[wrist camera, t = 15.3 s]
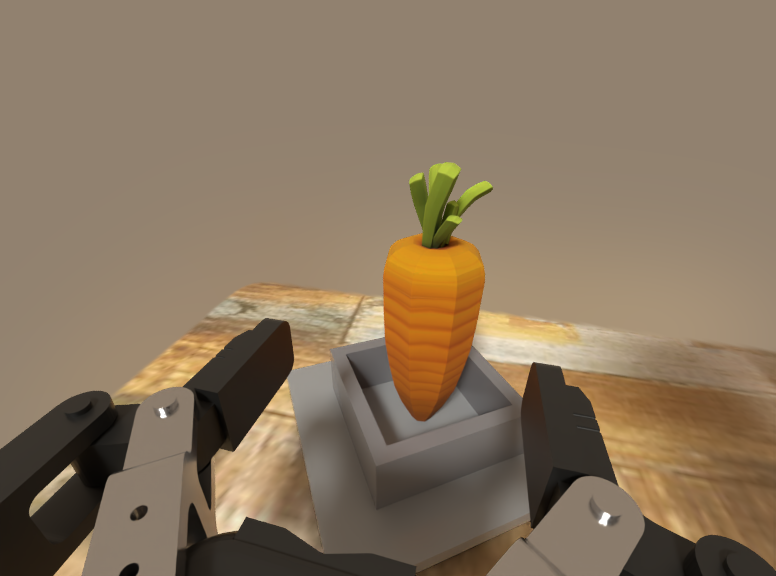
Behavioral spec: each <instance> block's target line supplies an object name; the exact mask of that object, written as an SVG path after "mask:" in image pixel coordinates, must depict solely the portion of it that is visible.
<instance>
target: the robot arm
mask: <svg viewBox="0 0 776 576" xmlns="http://www.w3.org/2000/svg"><path fill="white" fill-rule="evenodd" d="M293 363H294V354H293V346H292V339H291V331H290V325H289V323H288V322H287V321H281V320H275V319H269V318H265V319H263V320H262V321H261V322H260V323H259V324H258V325H257V326H256V327H255V328H254V329H253V330H248V331H246V332H244V333H242V334H240V335H238V336H237V337H235V338H234V339H233V340H231V341H230V342H229V343H228V344H227V345H226V346H225V347H224V350H223V349H222V350H221V351H220V352H219V353H218V354H217V355H216V357H215V358H213V359H211V360H210V361H209V362H208V363H207V364H206V365H205V366H204V367H203V368H202V369H201V370H200V371H199V372H198V373H197V374H196V375H195V376H194V377H192V378H191V379H190V380H189V381H188V382H187V383H186V384H185V385H184V386H183V387H172V388H167V389H164V390H161V391H159V392H157V393H154V394H153V395H151V396H149V397H148V398H147V399H145V400H144V401H143V402H142V403H141V404H129V405H114V403H113V401H112V399H111V397H110V395H109V394H108V393H106V392H103V391H90V392H86V393H82V394H79V395H76V396H74V397H71V398H69V399H67V400H66V401H64V402H62V403H61V404H60V405H58V406H56V407H55V408H54V409H53V410H51V411H50V412H49V413H47V414H46V415H45V416H43V417H42V418H41V419H40V420H38V421H37V422H36V423H34V424H33V425H32V426H30V427H29V428H28V429H26V430H25V431H24V432H22V433H21V434H20V435H18V436H17V437H16V438H15V439H13V440H12V441H11V442H9V443H8V444H7V445H6V446H4V447H3V448H1V449H0V576H53V575H54V574H55V573H56V572H57V571H58V570H59V568H60V567H61V566H62V565H63V564H64V562H65V561H66V560H67V559H68V558H69V557H70V555H71V554H72V553H73V552H74V551H75V550H76V548H77V547H78V546H79V545H80V544H81V543H82V541H83V540H84V539H85V538H86V537H87V536H88V534H89V533H90V532H91V531H92V530H93V529H94V531H93V534H92V538H91V542H90V546H89V550H88V553H87V557H86V561H85V565H84V569H83V572H82V576H416V568H417V566H414V565H410V564H407V563H404V562H400V561H397V560H393V559H390V558H386V557H383V556H379V555H376V554H372V553H347V554H325V553H321V552H319V551H317V550H316V549H315V548H313V547H312V546H310V545H309V544H307V543H306V542H304V541H303V540H301V539H300V538H299V537H297V536H296V535H294V534H293V533H291V532H290V531H288V530H287V529H285V528H283V527H279V526H276V525H272V524H269V523H265V522H262V521H258V520H255V519H252V518H248V517H246V518H245V520H244V522H243V524H242V525H241V527H240V529H239V530H238V531H233V532H227V533H222V534H218V532H217V526H216V515H215V461H214V457H213V456H214V455H215V454H216V452H217V451H218V450H219V448H220V449H224V450H228V451H232V452H234V451H235V450H236V448H237V447H238V445H239V444H240V443H241V441H242V440H243V438H244V437H245V436H246V434H247V433H248V431H249V430H250V429H251V427H252V426H253V425H254V423H255V422H256V420H257V419H258V418H259V416H260V415H261V413H262V412H263V411H264V409H265V408H266V406H267V405H268V404H269V402H270V401H271V399H272V398H273V397H274V395H275V394H276V392H277V391H278V390H279V388H280V387H281V386H282V384H283V383H284V381H285V380H286V379H287V377H288V376H289V374H290V372H291V370H292V367H293ZM595 418H596V417H595V414H594V411H593V408H592V405H591V402H590V400H589V399H588V398H587V397H586V396H585V395H584V393H583V392H582V391H581V390H580V389H579V387H574V386H569V385H566V384H565V380H564V376H563V373H562V369H561V367H560V366H554V365H548V364H542V363H536V362H533V363H532V366H531V369H530V373H529V376H528V380H527V384H526V388H525V392H524V395H523V399H522V405H521V428H522V439H523V449H524V459H525V470H526V480H527V490H528V501H529V511H530V522H531V528H533V529H534V530H533V531H532V532H531V534H530V535H529V536H528V537H527V538H525V539H524V538H523V537H521V538H519V539H518V540H517V541H516V542H515V543H514V544H513V545H512V546H511V547H510V548H509V549H508V550H507V552H506V553H505V554H504V555H503V556H502V557H501V559H500V560H499V561H498V562H497V563H496V564H495V566H494V567H493V568H492V569H491V570H490V571H489V573H488V574H487V575H486V576H776V571H775V570H774V569H773V567H772V566H770V565H769V564H768V563H767V562H766V561H765V560H764V559H763V558H761V557H760V556H759V555H758V554H756V553H755V552H753V551H752V550H750V549H749V548H747V547H746V546H744V545H742V544H740V543H738V542H736V541H734V540H732V539H729V538H726V537H722V536H718V535H708V536H704V537H702V538H700V539H699V540H698V541H697V543H696V544H695V543H693V542H691V541H689V540H687V539H685V538H683V537H681V536H679V535H677V534H675V533H673V532H671V531H669V530H667V529H665V528H663V527H661V526H659V525H658V524H656V523H654V522H652V521H651V520H649V519H648V518H646V517H645V516H644V515H642V512H641V510H640V508H639V507H638V505H637V504H636V502H635V501H634V500H633V499H632V498H631V496H630V495H628V494H627V493H626V492H625V491H624V490H623V489H621V488H620V487H619V486H618V483H617V480H616V477H615V474H614V471H613V468H612V465H611V462H610V459H609V456H608V453H607V450H606V447H605V444H604V441H603V438H602V435H601V433H600V429H599V426H598V423H597V420H595ZM70 463H71V465H72V467H73V468H74V470H75V472H76V473H75V474H74V475H73V476H72V477H71V478H70V479H69V480H68V481H67V482H66V483H65V484H64V485H63V486H62V487H61V488H60V489H59V490H58V491H57V492H56V493H55V494H54V495H53V496H52V497H51V498H50V499H49V500H48V501H47V502H46V503H45V504H44V505H43V506H42V507H41V508H40V509H39V510H38V511H36V512H35V513H34V514H33V515H32V516H31V517H30V516H29V508H30V505H31V503H32V501H33V500H34V498H35V497H36V496H37V494H38V493H39V492H40V491H42V490H43V489H44V488H45V487H46V486H47V485H48V484H49V483H50V482H51V481H52V480H53V479H54V478H55V477H56V476H58V475H59V474H60V473H61V472H62V471H63V470H64V469H65V468H66V467H67V466H68V465H69V464H70Z"/></svg>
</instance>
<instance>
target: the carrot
mask: <svg viewBox="0 0 776 576" xmlns="http://www.w3.org/2000/svg"><path fill="white" fill-rule="evenodd" d="M460 171H461V168H459V167H458V166H457V165H456V164H454V163H447V162H445V163H444V164H436V165H433V166H432V167H431V168H430V170H429V196H428V193H427V187H426V182H425V177H424V173H418V174H416V175H415V176H413V177H412V178H411V179H410V182H409V184H410V190H411V195H412V199H413V203H414V206H415V209H416V212H417V215H418V218H419V220H420V223H421V226H422V230H423V233H421V234H418V235H414V236H410V237H406V238H403V239H400V240H398V241H396V242H395V243H394V244H393V245H391V247H390V250H389V253H388V257H387V260H386V264H385V268H384V275H383V286H384V326H385V344H386V349H387V355H388V360H389V366H390V370H391V374H392V378H393V383H394V386H395V388H396V390H397V392H398V395H399V397H400V399H401V401H402V403H403V404H404V406H405V407H406V409H407V410H408V411H409V413H410V414H411V416H412V417H413V418H414V419H415V420H417V421H424V422H425V421H426V420H428V419H429V418H431V417H432V416H433V415H434V414H435V413H436V412H437V411H438V410H439V409H440V408H441V407H442V406H443V405H444V404H445V402H446V401H447V399H448V398H449V397H450V395H451V394H452V392H453V391H454V389H455V387H456V385H457V382H458V380H459V378H460V376H461V373H462V371H463V368H464V366H465V363H466V361H467V358H468V355H469V353H470V350H471V346H472V342H473V337H474V333H475V329H476V324H477V320H478V315H479V310H480V304H481V299H482V294H483V288H484V283H485V272H484V266H483V263H482V260H481V256H480V253H479V251H478V250H477V248H476V247H475V246H474V245H473V244H471V243H469V242H467V241H464V240H462V239H459V238H456V237H453V236H451V234H452V232H453V231H454V229H455V228H456V227H457V226H458V225H459V224H460V223H461V221H462V218H460V216H461V215H462V214H463V213H464V212H465V211H466V209H467V208H468V207H469V206H470V205H471V204H472V203H473V202H474V201H476V200H477V199H479V198H481V197H482V196H484V195H486V194H488V193H489V192H491V191H492V190H493V187H492V186H491V184H490V183H488V182H486V181H483V182H481V183H479V184H476V185H475V186H473V187H471V188H470V189H468V190H466V192H465V193H464V194H463V195H462V196H461V197H460V199H459V200H458V201H457V202H456V201H455V200H454V201H450V202H448V203H447V205H446V202H447V200H448V198H449V196H450V194H451V192H452V189H453V187H454V185H455V182H456V180H457V178H458V175H459V173H460ZM445 205H446V209H445V212H444V216H443V219H442V214H443V211H444V208H445ZM441 222H442V223H441Z"/></svg>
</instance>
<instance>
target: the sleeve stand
mask: <svg viewBox="0 0 776 576" xmlns="http://www.w3.org/2000/svg"><path fill="white" fill-rule="evenodd" d="M330 357H331V361H329V362H325V363H321V364H316V365H312V366H308V367H303V368H299V369H295V370H291V372H290V374H289V376H288V377H287V381H288V385H289V390H290V395H291V400H292V405H293V409H294V414H295V419H296V424H297V429H298V433H299V438H300V443H301V448H302V453H303V457H304V462H305V467H306V472H307V477H308V481H309V486H310V491H311V496H312V501H313V505H314V510H315V515H316V520H317V525H318V529H319V534H320V539H321V544H322V549H323V553H325V554H347V553H372V554H376V555H379V556H383V557H386V558H390V559H393V560H397V561H400V562H404V563H407V564H410V565H414V566H417V568H416V573H418V572H420V571H422V570H424V569H427V568H429V567H431V566H433V565H435V564H437V563H440V562H442V561H444V560H446V559H448V558H450V557H453V556H455V555H457V554H459V553H461V552H463V551H466V550H468V549H470V548H472V547H474V546H476V545H479V544H481V543H483V542H485V541H487V540H489V539H492V538H494V537H496V536H498V535H500V534H502V533H505V532H507V531H509V530H511V529H513V528H515V527H518V526H520V525H522V524H524V523H526V522H528V521H530V511H529V501H528V490H527V480H526V470H525V459H524V449H523V439H522V428H521V405H522V399H523V398H522V397H521V396H520V395H519V394H518V393H517V392H516V391H515V390H514V389H513V388H512V387H511V386H510V385H509V384H508V382H507V381H506V380H505V379H504V378H503V377H502V376H501V375H500V374H499V373H498V372H497V371H496V370H495V369H494V368H493V367H492V366H491V365H490V364H489V363H488V362H487V361H486V360H485V358H484V357H483V356H482V355H481V354H480V353H479V352H478V351H477V350H476V349H475V348H474V347H473V346H471V350H470V353H469V355H468V358H467V361H466V363H465V366H464V368H463V371H462V373H461V376H460V378H459V380H458V382H457V385H456V387H455V389H454V391H453V392H452V394H451V395H450V397H449V398H448V399H447V401H446V402H445V404H444V405H443V406H442V407H441V408H440V409H439V410H438V411H437V412H436V413H435V414H434V415H433V416H432V417H431V418H429V419H428V420H426V421H425V422H424V421H417V420H415V419H414V418H413V417H412V416H411V414H410V413H409V411H408V410H407V409H406V407H405V406H404V404H403V403H402V401H401V399H400V397H399V395H398V392H397V390H396V388H395V386H394V383H393V378H392V374H391V370H390V366H389V360H388V355H387V349H386V344H385V337H384V338H379V339H375V340H370V341H366V342H361V343H356V344H352V345H347V346H343V347H338V348H334V349H330Z"/></svg>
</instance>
